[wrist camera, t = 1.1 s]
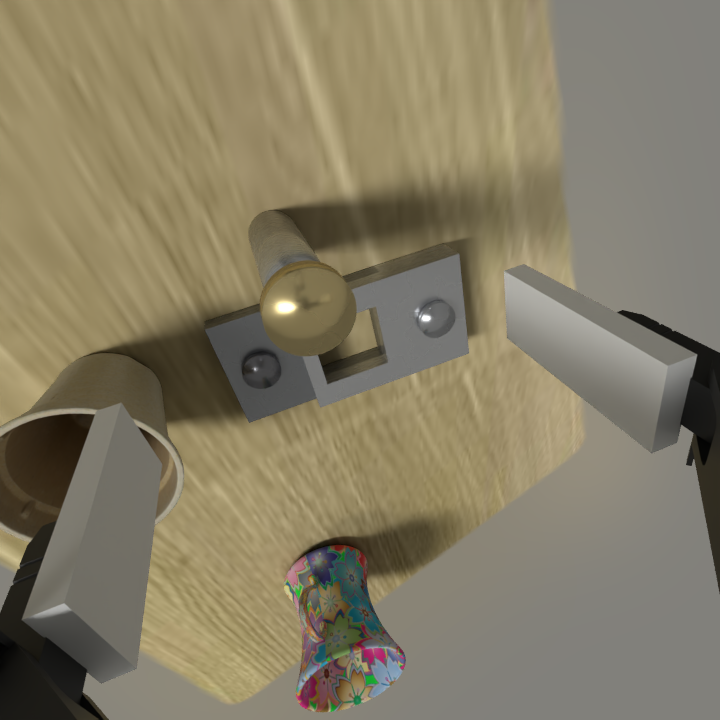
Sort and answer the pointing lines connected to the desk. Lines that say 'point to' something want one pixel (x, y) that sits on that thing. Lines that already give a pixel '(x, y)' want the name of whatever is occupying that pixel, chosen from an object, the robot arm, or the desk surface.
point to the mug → (339, 631)
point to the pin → (298, 289)
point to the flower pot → (78, 439)
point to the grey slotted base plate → (364, 370)
